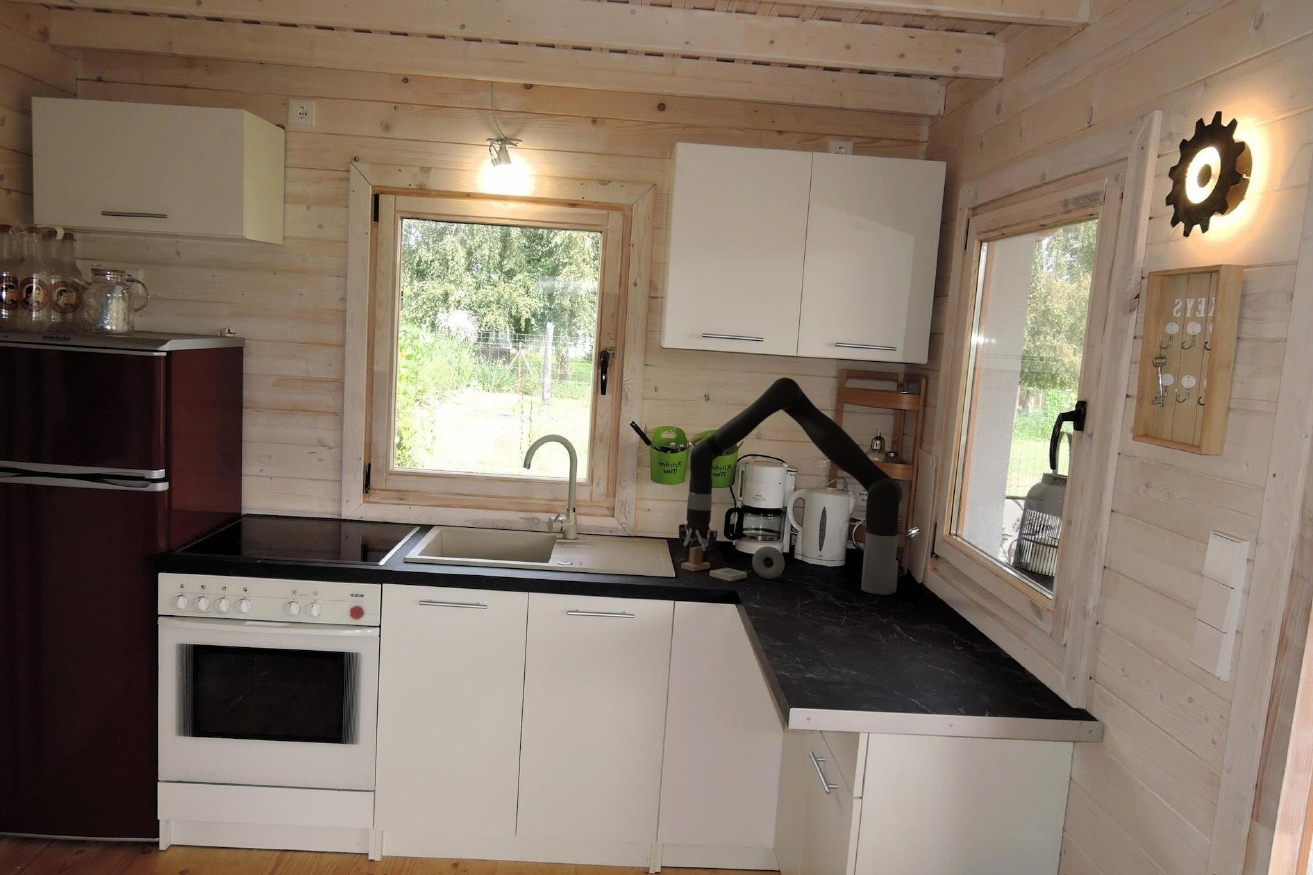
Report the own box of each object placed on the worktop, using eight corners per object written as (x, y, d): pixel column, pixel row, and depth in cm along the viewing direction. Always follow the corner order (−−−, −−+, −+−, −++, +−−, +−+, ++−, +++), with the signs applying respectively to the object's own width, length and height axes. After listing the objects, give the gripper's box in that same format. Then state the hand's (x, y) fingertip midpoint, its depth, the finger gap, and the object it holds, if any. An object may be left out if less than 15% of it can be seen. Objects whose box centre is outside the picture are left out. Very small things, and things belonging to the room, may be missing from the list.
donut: (749, 577, 281) (751, 544, 280) (752, 575, 284) (755, 543, 284) (781, 582, 277) (784, 549, 277) (784, 579, 281) (787, 547, 280)
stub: (709, 568, 290) (711, 547, 290) (693, 571, 284) (694, 550, 284) (697, 564, 294) (698, 544, 293) (681, 568, 288) (682, 547, 287)
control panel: (746, 577, 281) (747, 572, 281) (730, 581, 275) (730, 575, 275) (725, 572, 286) (726, 567, 286) (709, 575, 280) (709, 570, 280)
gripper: (725, 509, 285) (721, 563, 287) (689, 502, 295) (686, 554, 296) (709, 511, 280) (706, 566, 281) (673, 504, 289) (670, 557, 291)
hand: (695, 560), depth 289 cm, fingers open, 6 cm apart
